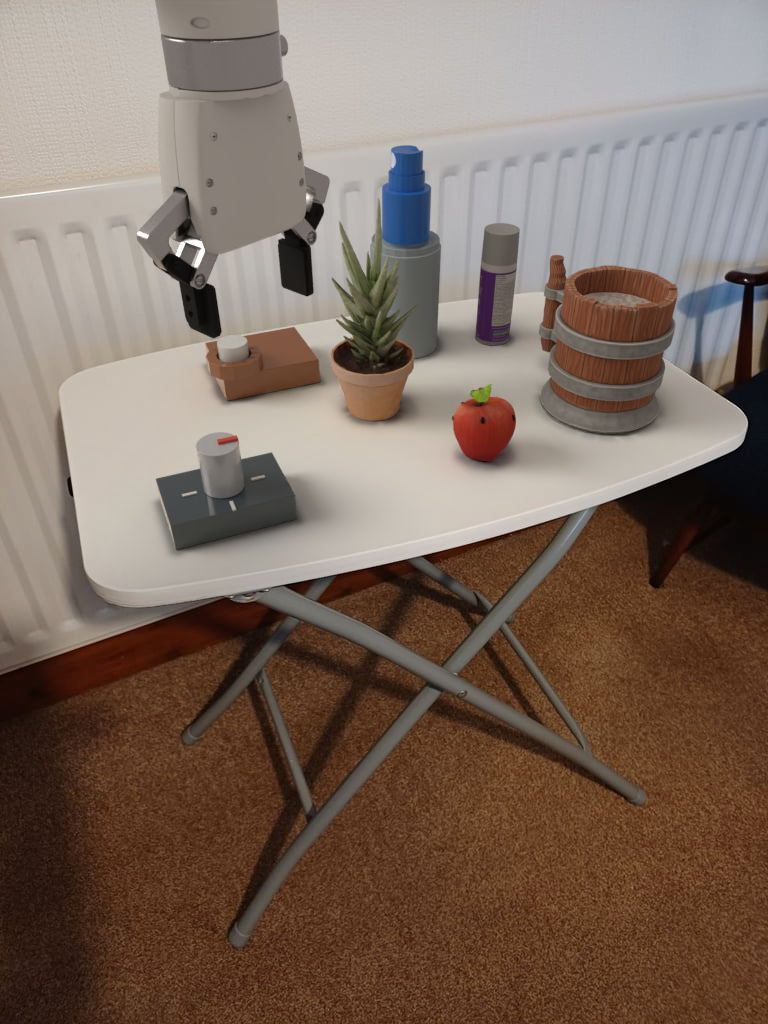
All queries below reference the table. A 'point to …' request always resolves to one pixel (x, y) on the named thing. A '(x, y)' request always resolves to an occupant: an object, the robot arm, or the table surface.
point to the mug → (605, 345)
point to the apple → (484, 425)
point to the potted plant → (371, 336)
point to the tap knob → (220, 465)
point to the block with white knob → (265, 365)
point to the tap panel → (226, 503)
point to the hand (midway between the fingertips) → (253, 310)
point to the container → (497, 283)
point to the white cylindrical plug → (233, 348)
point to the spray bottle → (411, 248)
